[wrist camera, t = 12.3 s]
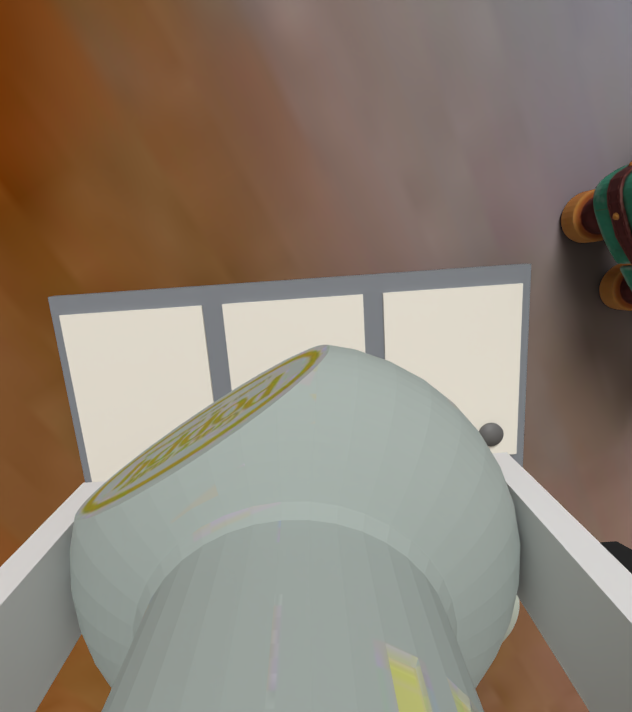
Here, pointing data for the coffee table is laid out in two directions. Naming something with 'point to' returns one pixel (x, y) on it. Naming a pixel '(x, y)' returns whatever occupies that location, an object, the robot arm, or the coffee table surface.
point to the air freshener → (302, 551)
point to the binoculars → (607, 231)
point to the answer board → (288, 348)
